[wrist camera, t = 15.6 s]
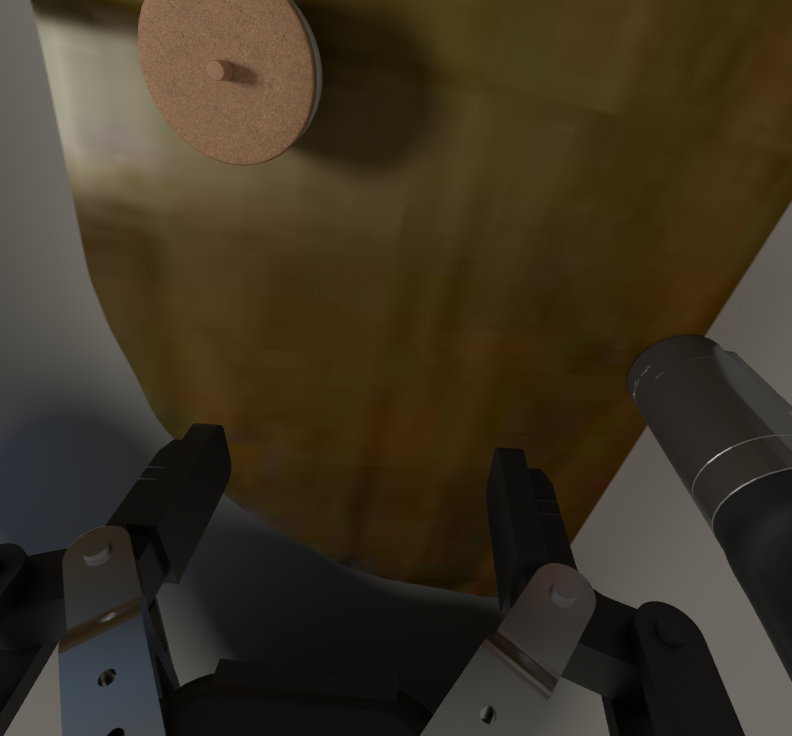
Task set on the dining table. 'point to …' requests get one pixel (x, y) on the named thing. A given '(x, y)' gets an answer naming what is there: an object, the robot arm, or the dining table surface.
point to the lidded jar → (231, 74)
